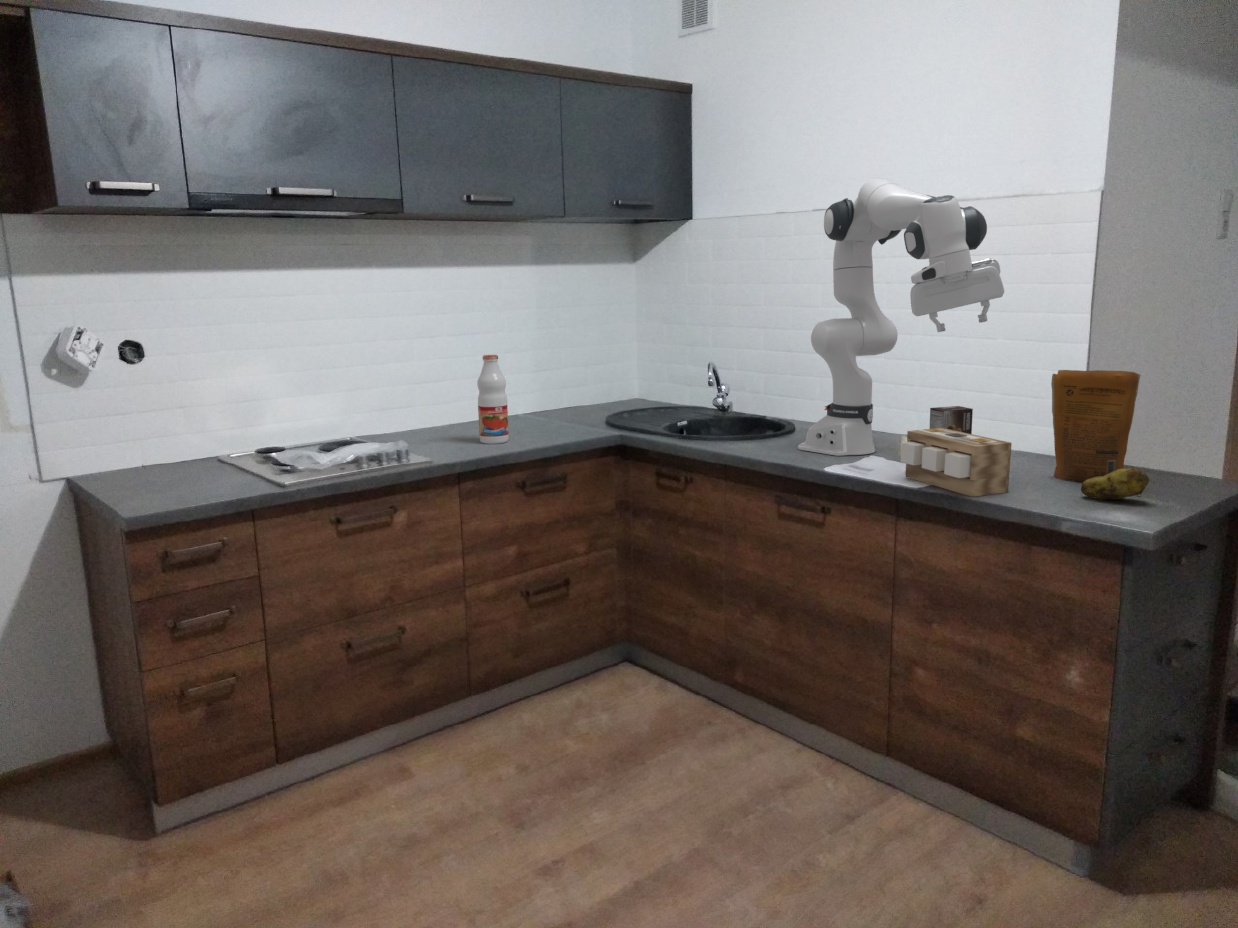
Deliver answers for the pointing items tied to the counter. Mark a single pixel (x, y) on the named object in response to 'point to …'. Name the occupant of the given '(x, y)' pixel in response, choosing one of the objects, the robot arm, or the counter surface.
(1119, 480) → the potato
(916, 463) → the button
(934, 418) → the coffee box
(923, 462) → the button middle
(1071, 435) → the pancake mix bag
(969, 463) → the button
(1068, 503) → the counter surface
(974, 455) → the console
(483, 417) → the fruit juice
